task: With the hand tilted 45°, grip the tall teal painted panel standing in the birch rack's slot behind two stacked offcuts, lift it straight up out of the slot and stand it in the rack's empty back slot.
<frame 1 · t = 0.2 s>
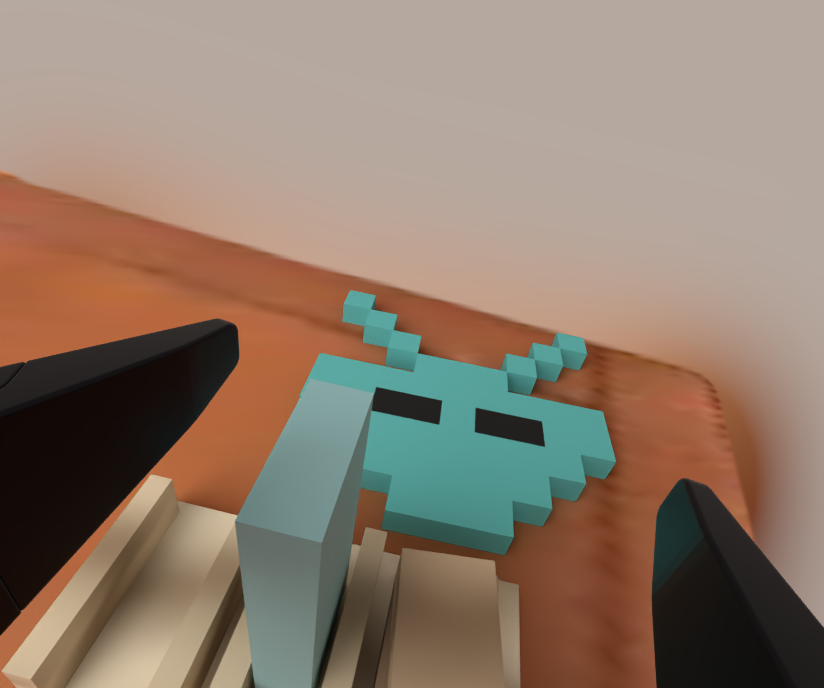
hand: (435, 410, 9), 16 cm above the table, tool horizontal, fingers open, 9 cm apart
teal panel: (305, 638, 20), point 1 cm above the table, touching birch rack
birch rack: (305, 648, 20), on the table
upper oak offcut: (438, 656, 18), point 3 cm above the table, touching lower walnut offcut
alien figure: (452, 417, 34), on the table
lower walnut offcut: (431, 670, 19), point 1 cm above the table, touching birch rack, upper oak offcut
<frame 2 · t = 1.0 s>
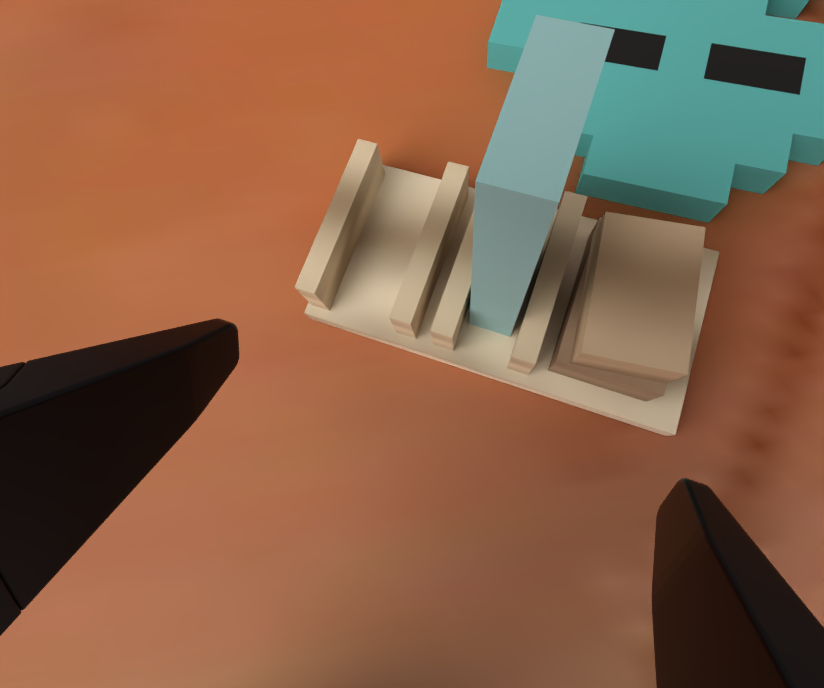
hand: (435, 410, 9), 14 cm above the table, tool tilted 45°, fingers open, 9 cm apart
teal panel: (505, 283, 23), point 1 cm above the table, touching birch rack
birch rack: (503, 290, 24), on the table
upper oak offcut: (627, 305, 20), point 3 cm above the table, touching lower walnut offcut
alien figure: (673, 60, 27), on the table
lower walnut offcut: (615, 315, 22), point 1 cm above the table, touching birch rack, upper oak offcut
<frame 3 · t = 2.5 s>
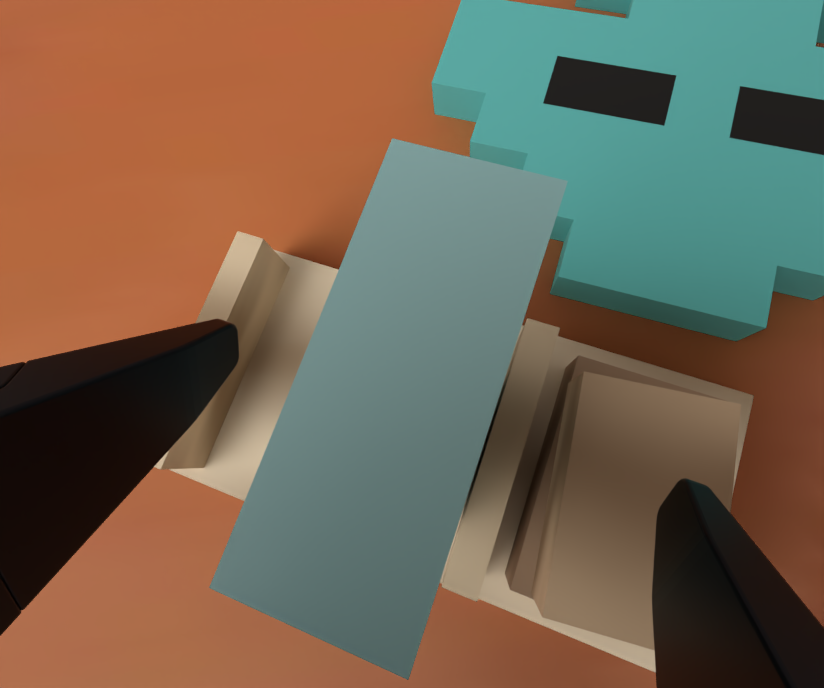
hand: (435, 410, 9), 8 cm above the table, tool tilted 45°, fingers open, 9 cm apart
teal panel: (447, 434, 16), point 1 cm above the table, touching birch rack
birch rack: (448, 435, 17), on the table
upper oak offcut: (618, 501, 13), point 3 cm above the table, touching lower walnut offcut
alien figure: (684, 103, 20), on the table
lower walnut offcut: (603, 490, 15), point 1 cm above the table, touching birch rack, upper oak offcut
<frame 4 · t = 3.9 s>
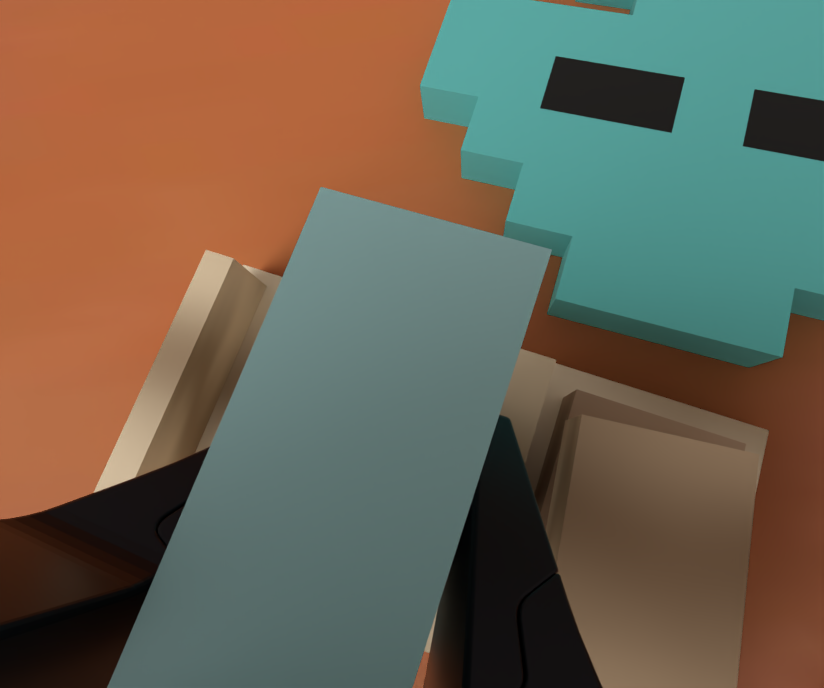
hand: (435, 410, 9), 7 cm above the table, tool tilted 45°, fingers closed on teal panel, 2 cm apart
teal panel: (434, 470, 15), point 1 cm above the table, touching birch rack, gripper
birch rack: (436, 469, 16), on the table
upper oak offcut: (620, 553, 12), point 3 cm above the table, touching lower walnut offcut
alien figure: (693, 106, 19), on the table
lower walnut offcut: (603, 533, 14), point 1 cm above the table, touching birch rack, upper oak offcut
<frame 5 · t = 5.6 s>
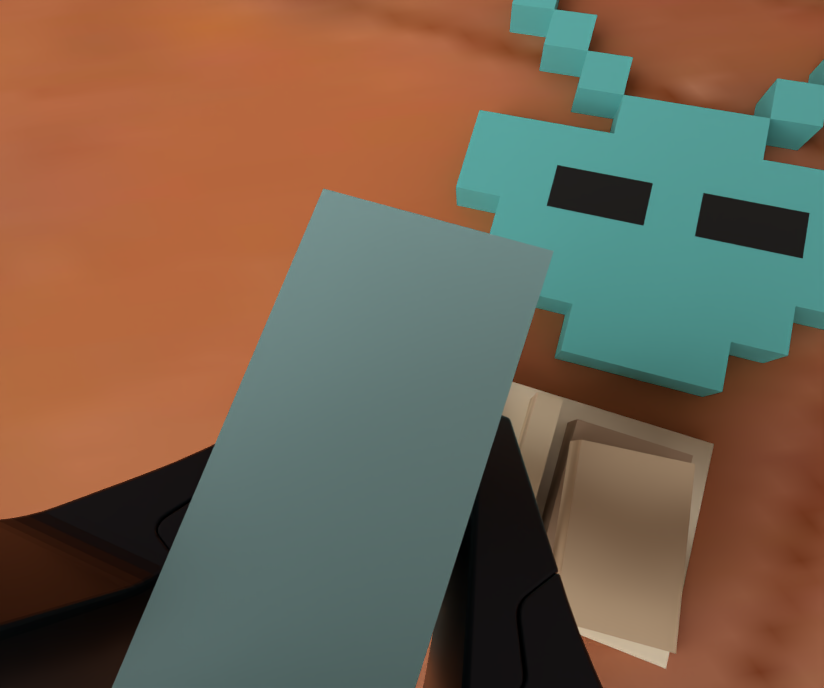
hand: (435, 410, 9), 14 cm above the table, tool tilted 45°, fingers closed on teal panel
teal panel: (434, 470, 15), point 7 cm above the table, touching gripper
birch rack: (475, 475, 22), on the table
upper oak offcut: (609, 531, 18), point 3 cm above the table, touching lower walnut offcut
alien figure: (662, 194, 25), on the table
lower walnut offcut: (598, 519, 20), point 1 cm above the table, touching birch rack, upper oak offcut
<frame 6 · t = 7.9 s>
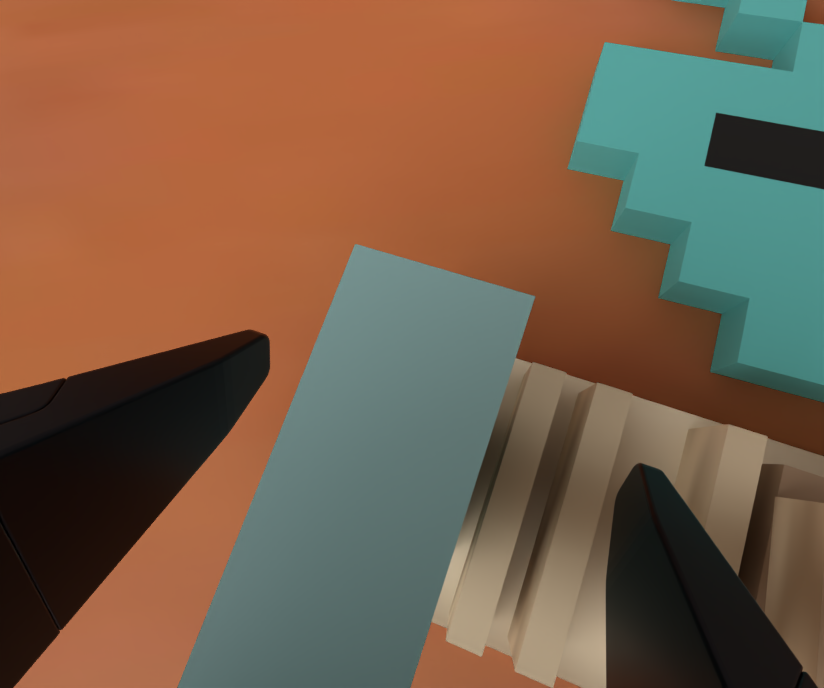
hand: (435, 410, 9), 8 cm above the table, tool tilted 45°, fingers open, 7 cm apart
teal panel: (437, 468, 16), point 1 cm above the table, touching birch rack
birch rack: (607, 531, 16), on the table
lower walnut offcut: (797, 603, 14), point 1 cm above the table, touching birch rack, upper oak offcut
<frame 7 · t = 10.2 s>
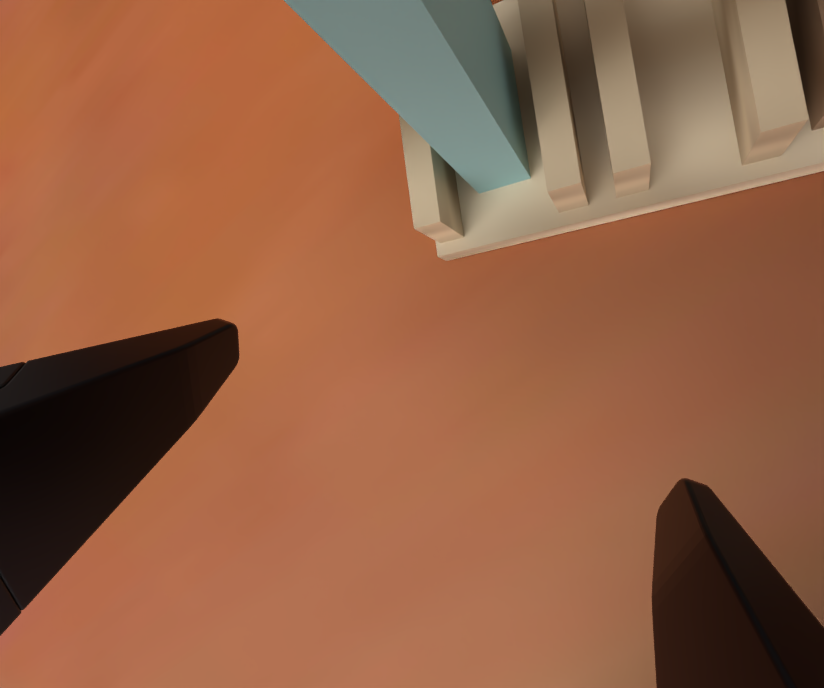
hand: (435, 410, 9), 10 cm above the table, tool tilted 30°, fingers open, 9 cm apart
teal panel: (494, 122, 18), point 1 cm above the table, touching birch rack
birch rack: (670, 76, 16), on the table
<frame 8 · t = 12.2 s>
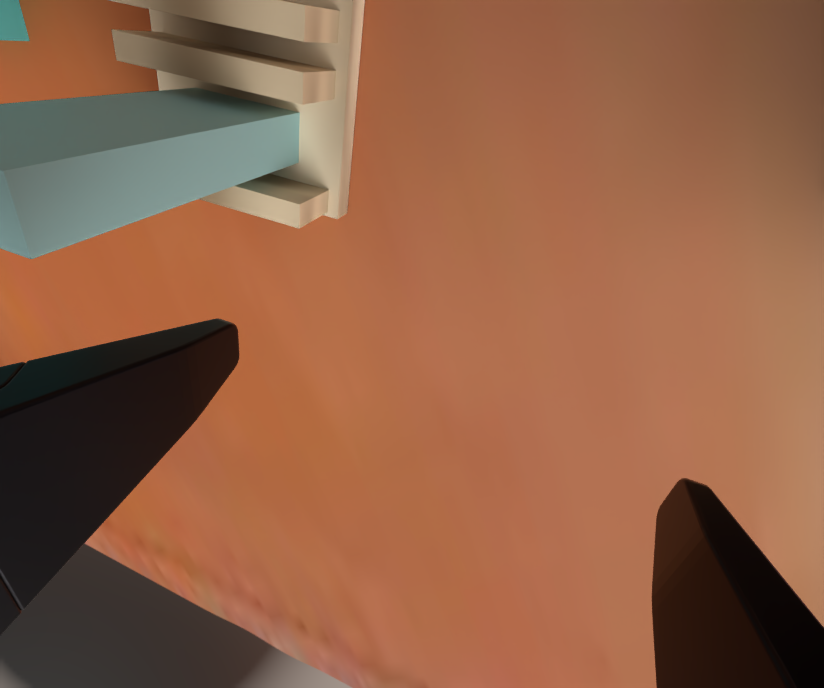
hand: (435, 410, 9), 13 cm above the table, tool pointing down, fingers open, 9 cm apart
teal panel: (247, 125, 21), point 1 cm above the table, touching birch rack
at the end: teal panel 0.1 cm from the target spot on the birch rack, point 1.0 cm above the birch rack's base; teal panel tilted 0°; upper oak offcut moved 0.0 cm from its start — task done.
